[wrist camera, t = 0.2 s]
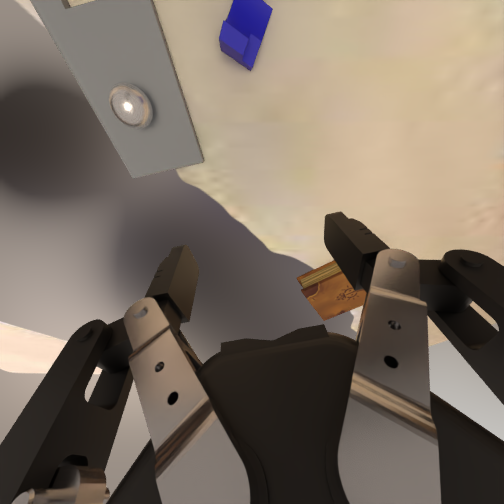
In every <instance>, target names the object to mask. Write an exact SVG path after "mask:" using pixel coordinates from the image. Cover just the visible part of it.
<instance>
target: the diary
mask: <svg viewBox="0 0 504 504" xmlns="http://www.w3.org/2000/svg"><path fill="white" fill-rule="evenodd" d="M297 280H298V282H299V283H300V284H301V286H302V287H303V288H304V289H302V290H301V291H302V293H303V294H304V295H305V297H306V298H307V299H308V301H309V302H310V303H311V305H312V306H313V307H314V309H315V310H316V311H317V312H318V314H319V315H320V316H321V318H322V319H323V320H324V321H325V320H327V319H330V318H332V317H334V316H337V315H340V314H342V313H344V312H347V311H350V310H352V309H355V308H357V307H360V306H362V305H364V301H365V296H366V292H365V290H364V289H362V290H356V291H355V290H354V289H353V287H352V286H351V284H350V283H349V281H348V280H347V278H346V277H345V275H344V274H343V272H342V271H341V269H340V268H339V266H338V265H337V263H336V262H335V260H334V261H332V262H330V263H327V264H325V265H323V266H321V267H319V268H317V269H313V270H311V271H309V272H307V273H305V274H303V275H301V276H299V277H297Z"/></svg>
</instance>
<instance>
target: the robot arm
mask: <svg viewBox="0 0 504 504" xmlns="http://www.w3.org/2000/svg"><path fill="white" fill-rule="evenodd" d="M324 242H325V246H326V248H327V249H328V251H329V253H330V254H331V256H332V257H333V259H334V260H335V262H336V263H337V265H338V266H339V268H340V269H341V271H342V272H343V274H344V275H345V277H346V278H347V280H348V281H349V283H350V284H351V286H352V287H353V289H354V290H355V291H356V290H362V289H364V290H365V292H366V296H365V301H364V305H363V309H362V314H361V318H360V323H359V327H358V331H357V335H356V339H355V340H353V339H351V338H349V337H346V336H344V335H340V334H337V333H331V332H327V330H326V328H325V325H324V324H323V325H318V326H312V327H306V328H301V329H297V330H295V331H293V332H291V333H289V334H286V335H284V336H282V337H280V338H278V339H276V340H272V341H270V340H258V339H240V340H235V341H229V342H224V343H221V352H219V353H217V354H215V355H214V356H212V357H211V358H210V359H208V360H207V361H206V362H205V363H204V364H203V363H202V362H201V361H200V360H199V359H198V357H197V355H196V354H195V352H194V350H193V349H192V348H191V346H190V344H189V343H188V341H187V339H186V338H185V336H184V335H183V333H182V331H181V330H180V324H181V323H185V322H189V320H190V316H191V311H192V306H193V301H194V296H195V290H196V286H197V281H198V276H199V268H198V264H197V262H196V260H195V259H194V257H193V255H192V253H191V251H190V249H189V247H188V246H187V245H182V246H177V247H173V248H172V250H171V252H170V254H169V257H166V258H165V259H164V261H163V262H162V263H161V264H160V265H159V267H158V270H157V272H156V274H155V276H154V279H153V280H152V282H151V285H150V287H149V289H148V291H147V293H146V295H145V298H143V299H141V300H139V301H137V302H135V303H134V304H133V305H132V306H130V307H129V309H128V310H127V311H126V313H125V315H124V317H123V318H121V319H119V320H117V321H115V322H112V323H110V324H108V325H107V324H106V323H105V322H103V321H102V320H93V321H90V322H88V323H86V324H85V325H83V326H82V327H80V328H79V329H78V330H77V331H76V332H75V333H74V334H73V335H72V336H71V338H70V339H69V340H68V342H67V344H66V345H65V347H64V348H63V350H62V351H61V353H60V354H59V356H58V357H57V359H56V360H55V362H54V363H53V365H52V367H51V368H50V370H49V371H48V373H47V374H46V376H45V377H44V379H43V381H42V382H41V383H40V385H39V386H38V388H37V390H36V391H35V393H34V394H33V396H32V397H31V399H30V400H29V402H28V404H27V405H26V406H25V408H24V409H23V411H22V413H21V414H20V416H19V417H18V419H17V420H16V422H15V423H14V425H13V426H12V428H11V429H10V431H9V433H8V434H7V436H6V437H5V439H4V440H3V442H2V443H1V445H0V504H504V441H503V440H501V439H500V438H498V437H497V436H495V435H494V434H492V433H491V432H489V431H488V430H487V429H485V428H484V427H482V426H481V425H479V424H478V423H476V422H474V421H473V420H472V419H470V418H469V417H467V416H466V415H465V414H463V413H462V412H460V411H459V410H457V409H456V408H454V407H453V406H451V405H450V404H449V403H447V402H446V401H444V400H443V399H441V398H440V397H438V396H437V395H435V394H434V393H432V392H431V391H430V382H429V381H430V380H429V353H428V352H429V349H428V318H427V315H428V316H429V318H430V319H431V320H432V321H433V322H434V323H435V325H436V326H437V327H438V328H439V329H440V331H441V332H442V333H443V334H444V335H445V336H446V338H447V339H448V340H449V341H450V342H451V343H452V345H453V346H454V347H455V348H456V349H457V351H458V352H459V353H460V354H461V355H462V356H463V358H464V359H465V360H466V361H467V362H468V363H469V365H470V366H471V367H472V368H473V369H474V371H475V372H476V373H477V374H478V375H479V376H480V378H481V379H482V380H483V381H484V382H485V384H486V385H487V386H488V387H489V388H490V389H491V390H492V392H493V393H494V394H495V395H496V396H497V398H498V399H499V400H500V401H501V402H502V404H503V405H504V266H502V265H501V264H499V263H498V262H496V261H495V260H493V259H491V258H490V257H488V256H486V255H484V254H481V253H478V252H474V251H470V250H451V251H448V252H446V253H445V255H444V256H443V258H442V260H418V259H417V258H416V257H415V256H414V255H413V254H411V253H409V252H406V251H403V250H399V249H390V248H389V247H388V246H387V245H386V244H385V243H384V242H383V241H381V240H380V239H379V238H378V237H377V236H376V235H375V234H374V233H372V232H371V231H370V230H369V229H367V227H366V226H365V225H364V224H363V223H361V222H360V221H357V220H355V219H352V218H351V219H348V218H347V217H346V216H345V215H344V214H343V213H342V212H336V213H332V214H327V215H326V216H325V227H324ZM472 301H474V302H475V303H476V304H477V305H478V306H480V307H481V308H482V309H483V310H484V311H485V312H486V313H488V314H489V315H490V316H491V317H492V318H493V319H494V320H495V321H496V323H497V324H498V327H499V332H498V331H497V330H496V329H495V328H494V327H493V326H492V325H491V324H490V323H488V322H487V321H486V320H485V319H484V318H483V317H482V316H481V315H480V314H479V313H477V312H476V311H475V310H474V309H473V308H472V307H471V306H470V304H471V302H472ZM96 366H97V367H99V368H101V369H103V370H102V372H101V374H100V377H99V379H98V381H97V383H96V386H95V388H94V390H93V392H92V395H91V397H90V399H89V401H88V402H87V401H86V400H85V389H86V387H87V385H88V382H89V381H90V379H91V376H92V374H93V372H94V370H95V368H96ZM133 380H134V381H135V385H136V388H137V392H138V395H139V399H140V402H141V405H142V409H143V412H144V416H145V419H146V422H147V426H148V429H149V433H150V436H151V439H150V440H149V442H148V443H147V445H146V446H145V447H144V449H143V450H142V452H141V453H140V455H139V456H138V457H137V459H136V460H135V462H134V463H133V465H132V466H131V468H130V469H129V471H128V472H127V474H126V475H125V476H124V478H123V479H122V481H121V482H120V484H119V485H118V487H117V488H116V489H115V491H114V492H113V494H112V495H111V497H110V491H109V489H108V488H107V487H106V475H105V473H104V471H105V468H106V465H107V462H108V458H109V455H110V452H111V449H112V446H113V443H114V439H115V436H116V433H117V430H118V427H119V424H120V421H121V418H122V414H123V411H124V408H125V405H126V402H127V399H128V395H129V392H130V389H131V386H132V383H133ZM109 497H110V498H109Z"/></svg>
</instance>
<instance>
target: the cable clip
mask: <svg viewBox="0 0 504 504" xmlns="http://www.w3.org/2000/svg"><path fill="white" fill-rule="evenodd" d="M272 10H273V9H272V8H271V7H270V6H269V5H267V4H266V3H265V2H264V1H263V0H233V3H232V7H231V9H230V12H229V15H228V17H227V20H226V21H223V25H222V29H221V33H220V36H219V42H220V47H221V51H223V52H224V53H225V54H227V55H228V56H230V57H231V58H233V59H234V60H236V61H237V62H238V63H240V64H241V65H243V66H244V67H246V68H247V69H249V70H250V71H251V69H252V67H253V64H254V62H255V59H256V56H257V53H258V50H259V47H260V45H261V42H262V39H263V36H264V33H265V30H266V27H267V24H268V21H269V18H270V15H271V12H272Z"/></svg>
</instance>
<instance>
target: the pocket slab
mask: <svg viewBox="0 0 504 504" xmlns="http://www.w3.org/2000/svg"><path fill="white" fill-rule="evenodd" d="M30 1H31V3H32V4H33V6H34V8H35V10H36V11H37V13H38V15H39V17H40V18H41V20H42V22H43V24H44V25H45V27H46V29H47V30H48V32H49V34H50V36H51V37H52V39H53V41H54V43H55V44H56V46H57V48H58V49H59V51H60V53H61V55H62V56H63V58H64V60H65V62H66V63H67V65H68V67H69V69H70V70H71V72H72V74H73V75H74V77H75V79H76V81H77V82H78V84H79V86H80V88H81V90H82V91H83V93H84V95H85V96H86V98H87V100H88V101H89V103H90V105H91V107H92V109H93V110H94V112H95V114H96V116H97V117H98V119H99V121H100V122H101V124H102V126H103V128H104V130H105V131H106V133H107V135H108V136H109V138H110V140H111V142H112V143H113V145H114V147H115V149H116V150H117V152H118V153H119V156H120V157H121V159H122V161H123V163H124V164H125V166H126V168H127V169H128V171H129V173H130V175H131V176H132V178H138V177H142V176H147V175H151V174H155V173H159V172H164V171H168V170H172V169H177V168H181V167H185V166H190V165H194V164H198V163H203V162H204V158H203V155H202V152H201V149H200V146H199V142H198V139H197V136H196V133H195V130H194V127H193V124H192V121H191V118H190V115H189V111H188V108H187V105H186V102H185V99H184V96H183V93H182V90H181V87H180V84H179V81H178V77H177V74H176V71H175V68H174V65H173V62H172V59H171V56H170V53H169V50H168V46H167V43H166V40H165V37H164V34H163V31H162V28H161V25H160V22H159V19H158V16H157V12H156V9H155V6H154V3H153V0H95V1H92V2H88V3H85V4H82V5H78V6H75V7H70V5H69V3H68V1H67V0H30ZM118 83H130V84H132V85H135V86H136V87H138V88H139V89H140V90H142V91H143V92H144V94H145V95H146V96H147V98H148V99H149V101H150V103H151V106H152V111H153V116H152V120H151V122H150V124H149V125H148V126H147V127H145V128H143V129H133V128H130V127H128V126H126V125H124V124H123V123H122V122H120V121H119V120H118V119H117V117H116V116H115V115H114V113H113V112H112V109H111V107H110V103H109V93H110V90H111V89H112V87H113V86H114V85H116V84H118Z"/></svg>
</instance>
